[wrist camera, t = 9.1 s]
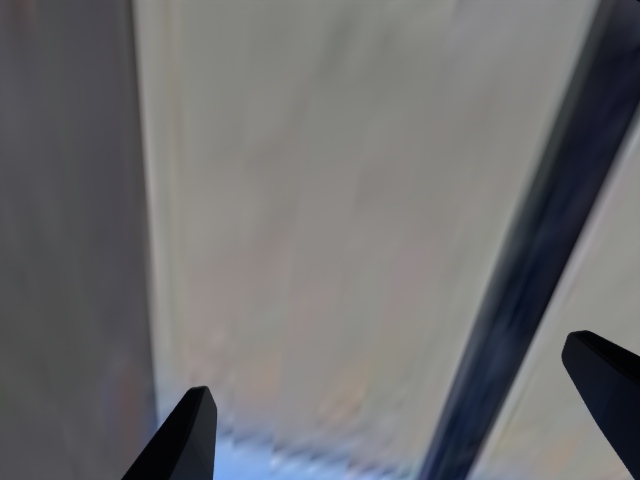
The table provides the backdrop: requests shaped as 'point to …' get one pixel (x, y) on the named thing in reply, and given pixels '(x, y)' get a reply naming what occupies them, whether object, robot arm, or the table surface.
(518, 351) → the table surface
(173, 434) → the robot arm
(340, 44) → the table surface
